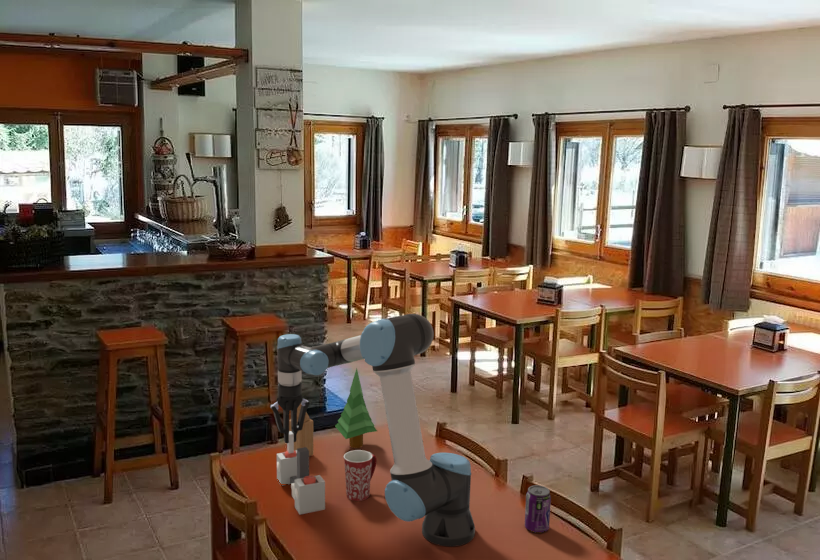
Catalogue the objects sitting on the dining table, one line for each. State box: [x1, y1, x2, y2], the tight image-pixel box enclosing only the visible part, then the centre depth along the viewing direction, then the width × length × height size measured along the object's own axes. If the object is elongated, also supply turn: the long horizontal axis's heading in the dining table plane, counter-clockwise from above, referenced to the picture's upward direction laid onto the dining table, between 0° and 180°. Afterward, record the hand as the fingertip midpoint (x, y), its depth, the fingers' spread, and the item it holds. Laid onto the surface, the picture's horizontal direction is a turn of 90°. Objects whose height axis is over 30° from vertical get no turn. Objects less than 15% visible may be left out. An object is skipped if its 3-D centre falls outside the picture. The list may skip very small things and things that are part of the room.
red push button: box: [284, 450, 296, 458], centre depth 240 cm, size 4×4×3 cm
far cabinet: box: [276, 450, 297, 485], centre depth 241 cm, size 5×8×9 cm, turn 115°
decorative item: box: [289, 404, 314, 457], centre depth 259 cm, size 7×7×20 cm
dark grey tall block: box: [290, 447, 310, 501], centre depth 228 cm, size 6×6×16 cm
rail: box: [289, 476, 297, 485], centre depth 232 cm, size 16×2×2 cm, turn 25°
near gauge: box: [304, 475, 316, 485], centre depth 222 cm, size 4×4×3 cm
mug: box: [343, 449, 378, 502], centre depth 232 cm, size 13×9×14 cm
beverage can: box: [524, 485, 552, 533], centre depth 213 cm, size 7×7×12 cm
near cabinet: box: [294, 474, 326, 515], centre depth 222 cm, size 5×8×9 cm, turn 115°
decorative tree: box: [334, 367, 378, 449], centre depth 267 cm, size 14×16×30 cm
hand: (290, 451), depth 240 cm, fingers closed
